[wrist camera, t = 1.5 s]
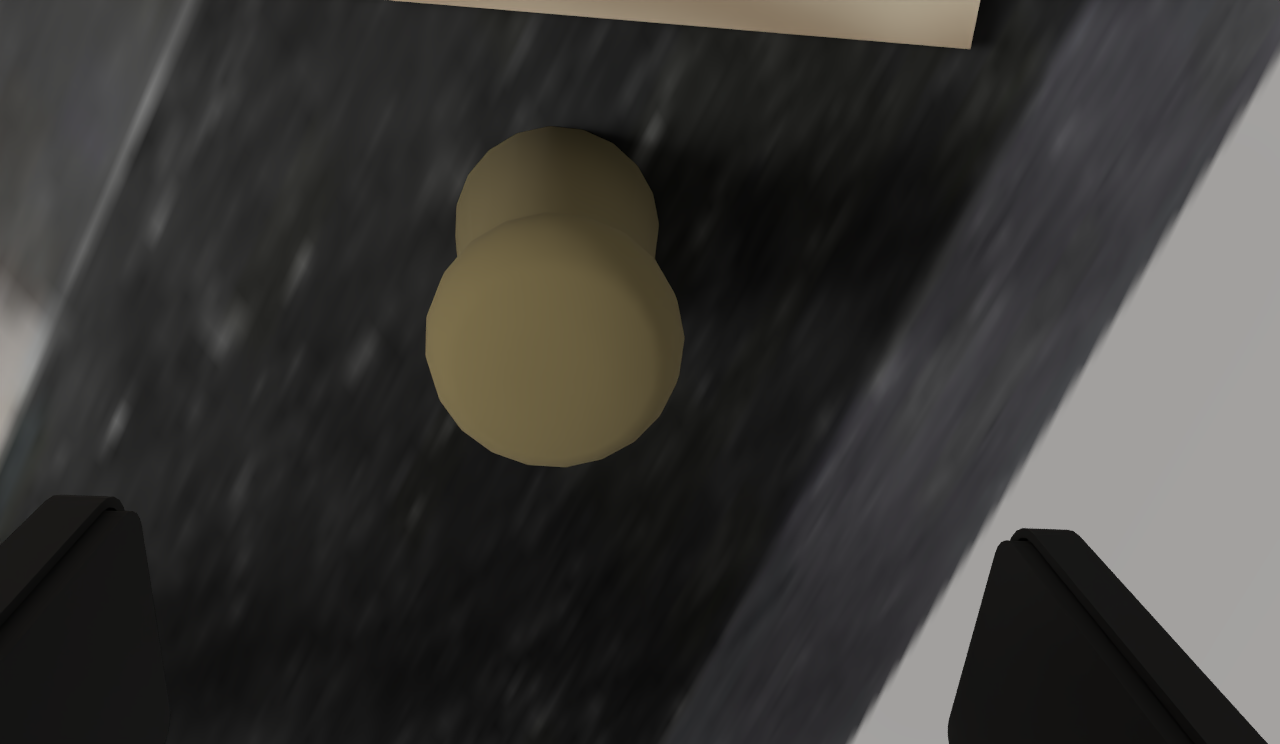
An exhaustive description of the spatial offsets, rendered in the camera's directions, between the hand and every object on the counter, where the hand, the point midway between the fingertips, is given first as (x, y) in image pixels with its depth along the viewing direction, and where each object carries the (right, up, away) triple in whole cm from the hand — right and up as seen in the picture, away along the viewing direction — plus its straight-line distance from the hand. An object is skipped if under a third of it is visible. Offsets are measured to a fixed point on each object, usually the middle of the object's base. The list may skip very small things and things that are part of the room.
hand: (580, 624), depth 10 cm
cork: (-2, +7, +17) cm, 19 cm away
